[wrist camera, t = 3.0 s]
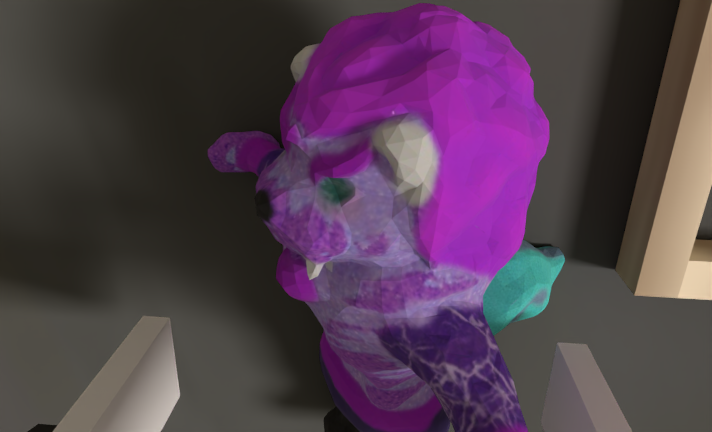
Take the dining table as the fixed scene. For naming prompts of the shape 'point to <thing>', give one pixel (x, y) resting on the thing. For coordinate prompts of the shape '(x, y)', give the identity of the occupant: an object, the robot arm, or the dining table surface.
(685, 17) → the pocket frame
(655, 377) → the dining table surface
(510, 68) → the toy
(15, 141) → the dining table surface
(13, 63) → the dining table surface
